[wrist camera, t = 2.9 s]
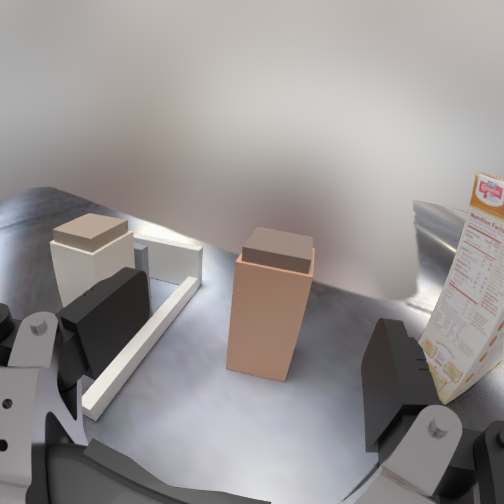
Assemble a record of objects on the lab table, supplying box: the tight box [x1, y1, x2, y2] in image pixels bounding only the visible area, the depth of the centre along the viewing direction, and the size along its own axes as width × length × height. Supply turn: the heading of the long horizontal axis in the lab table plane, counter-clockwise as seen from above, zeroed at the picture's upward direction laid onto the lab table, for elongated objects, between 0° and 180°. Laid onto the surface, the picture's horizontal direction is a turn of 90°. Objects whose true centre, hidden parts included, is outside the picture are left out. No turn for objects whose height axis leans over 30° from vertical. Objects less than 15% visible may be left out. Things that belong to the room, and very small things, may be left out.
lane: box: [82, 234, 203, 421], centre depth 24 cm, size 22×9×5 cm, turn 167°
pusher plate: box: [134, 243, 153, 320], centre depth 26 cm, size 4×6×8 cm, turn 78°
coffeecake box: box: [418, 172, 504, 405], centre depth 19 cm, size 15×7×20 cm, turn 107°
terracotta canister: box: [226, 227, 315, 382], centre depth 22 cm, size 5×5×11 cm
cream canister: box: [50, 213, 135, 308], centre depth 21 cm, size 5×5×11 cm
